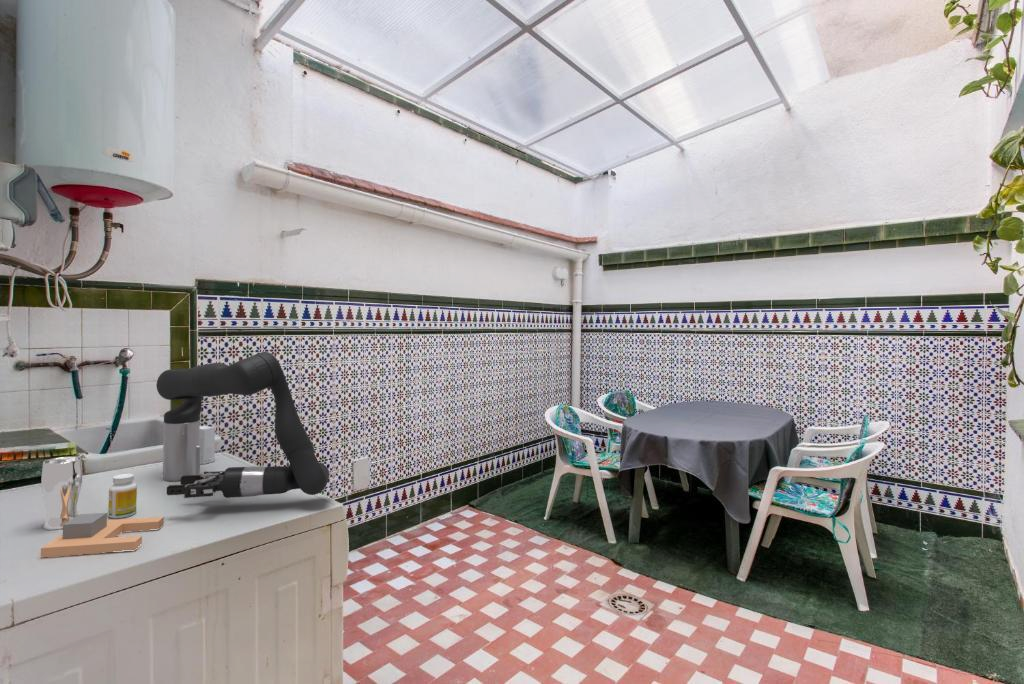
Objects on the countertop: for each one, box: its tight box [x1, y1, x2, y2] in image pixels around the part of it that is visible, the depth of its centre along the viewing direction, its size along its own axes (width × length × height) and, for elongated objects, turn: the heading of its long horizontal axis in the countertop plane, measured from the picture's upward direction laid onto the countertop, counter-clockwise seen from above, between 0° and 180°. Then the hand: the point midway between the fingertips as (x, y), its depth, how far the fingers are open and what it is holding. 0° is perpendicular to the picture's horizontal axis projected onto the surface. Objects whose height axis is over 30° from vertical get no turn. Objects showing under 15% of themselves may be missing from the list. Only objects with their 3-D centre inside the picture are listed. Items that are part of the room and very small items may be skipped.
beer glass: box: [40, 456, 83, 531], centre depth 114 cm, size 7×7×15 cm
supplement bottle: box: [107, 473, 138, 520], centre depth 121 cm, size 5×5×10 cm
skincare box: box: [199, 425, 216, 465], centre depth 169 cm, size 6×4×12 cm
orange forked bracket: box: [40, 512, 165, 559], centre depth 106 cm, size 16×14×5 cm
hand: (174, 485), depth 123 cm, fingers open, 8 cm apart
